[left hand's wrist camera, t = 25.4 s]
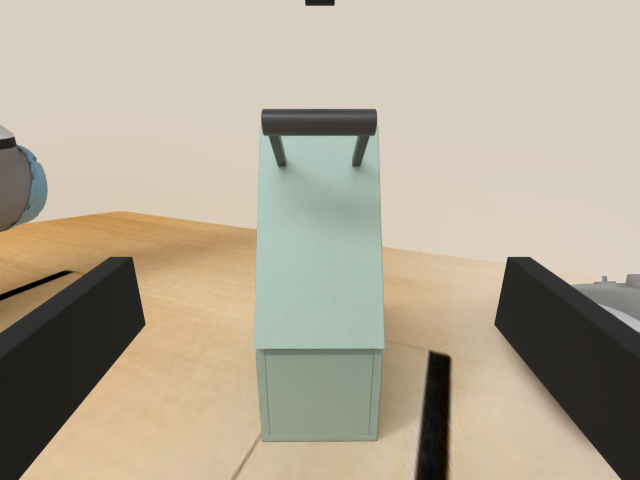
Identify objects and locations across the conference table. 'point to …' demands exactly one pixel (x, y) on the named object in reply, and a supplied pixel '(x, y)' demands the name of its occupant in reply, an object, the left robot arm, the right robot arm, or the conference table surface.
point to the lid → (319, 231)
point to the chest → (319, 394)
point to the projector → (617, 298)
